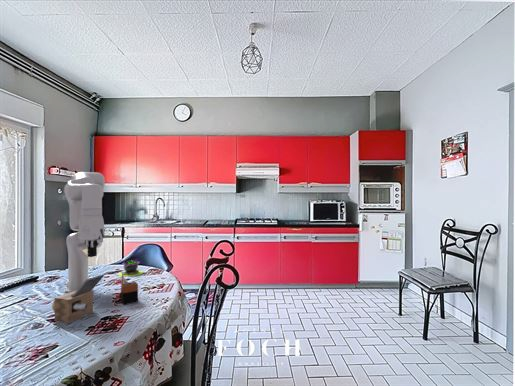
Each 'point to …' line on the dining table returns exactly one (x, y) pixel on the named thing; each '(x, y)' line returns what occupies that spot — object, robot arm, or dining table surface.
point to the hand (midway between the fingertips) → (92, 256)
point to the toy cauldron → (131, 269)
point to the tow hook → (121, 286)
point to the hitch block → (65, 306)
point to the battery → (129, 292)
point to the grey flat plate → (87, 286)
